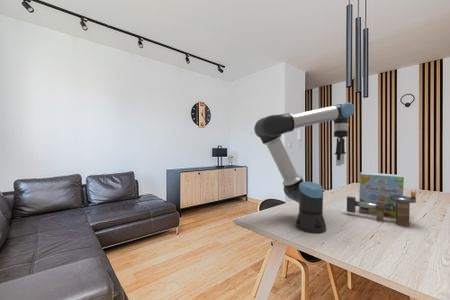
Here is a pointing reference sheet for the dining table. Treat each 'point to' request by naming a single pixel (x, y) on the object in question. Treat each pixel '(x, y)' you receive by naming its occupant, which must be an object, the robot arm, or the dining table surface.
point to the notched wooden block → (401, 213)
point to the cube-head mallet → (364, 205)
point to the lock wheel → (405, 198)
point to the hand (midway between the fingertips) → (340, 164)
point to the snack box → (379, 191)
